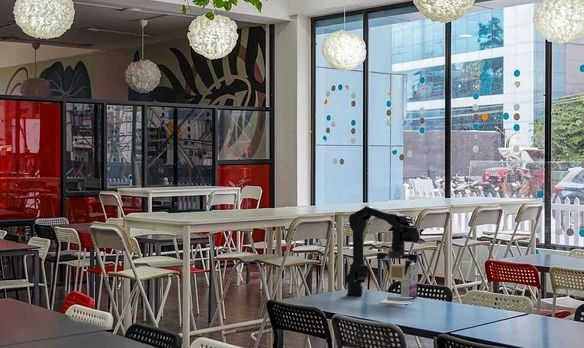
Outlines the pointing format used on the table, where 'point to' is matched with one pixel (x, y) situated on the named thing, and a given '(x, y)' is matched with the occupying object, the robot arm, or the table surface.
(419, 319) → the table surface
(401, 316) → the table surface
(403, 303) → the mat
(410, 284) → the candy bar box
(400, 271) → the tile
